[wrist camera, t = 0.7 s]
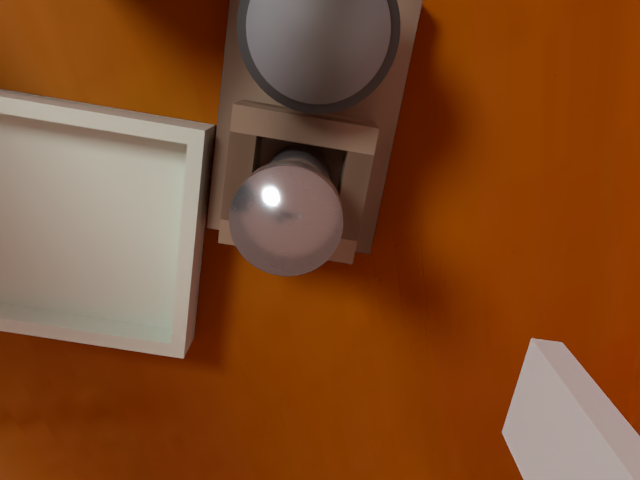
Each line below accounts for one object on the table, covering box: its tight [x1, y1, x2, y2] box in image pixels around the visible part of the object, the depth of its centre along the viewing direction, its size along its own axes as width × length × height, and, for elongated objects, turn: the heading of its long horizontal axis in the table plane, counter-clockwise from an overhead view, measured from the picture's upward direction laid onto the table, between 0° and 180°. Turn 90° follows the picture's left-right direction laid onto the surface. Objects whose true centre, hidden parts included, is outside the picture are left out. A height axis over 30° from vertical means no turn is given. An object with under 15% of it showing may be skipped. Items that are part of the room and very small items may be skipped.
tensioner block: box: [207, 0, 423, 265], centre depth 31 cm, size 11×17×8 cm, turn 171°
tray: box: [0, 89, 215, 359], centre depth 36 cm, size 18×16×3 cm
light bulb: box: [229, 144, 343, 276], centre depth 29 cm, size 5×5×10 cm
